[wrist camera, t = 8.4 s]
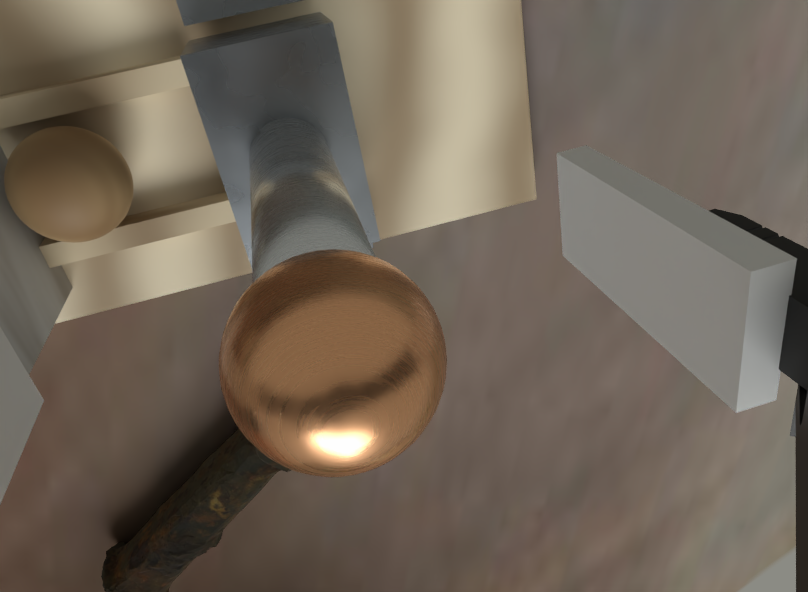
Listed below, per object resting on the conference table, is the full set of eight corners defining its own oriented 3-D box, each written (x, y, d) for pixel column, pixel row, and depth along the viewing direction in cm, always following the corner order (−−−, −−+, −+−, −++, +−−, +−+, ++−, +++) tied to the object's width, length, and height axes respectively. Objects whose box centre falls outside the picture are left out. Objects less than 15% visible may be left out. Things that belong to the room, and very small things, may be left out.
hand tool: (163, 566, 40) (154, 634, 36) (106, 541, 38) (89, 610, 34) (373, 364, 37) (389, 415, 33) (321, 326, 35) (330, 375, 31)
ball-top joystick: (265, 263, 30) (294, 698, 13) (171, -23, 24) (-21, 55, 6) (369, 237, 30) (534, 620, 13) (303, -51, 24) (451, -47, 7)
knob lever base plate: (-36, 332, 30) (-124, 455, 23) (-218, 45, 24) (-423, 88, 16) (525, 189, 33) (604, 257, 26) (499, -104, 27) (596, -124, 19)
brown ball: (56, 227, 28) (21, 273, 24) (6, 127, 25) (-41, 160, 22) (158, 204, 28) (139, 246, 24) (118, 102, 26) (89, 131, 22)
